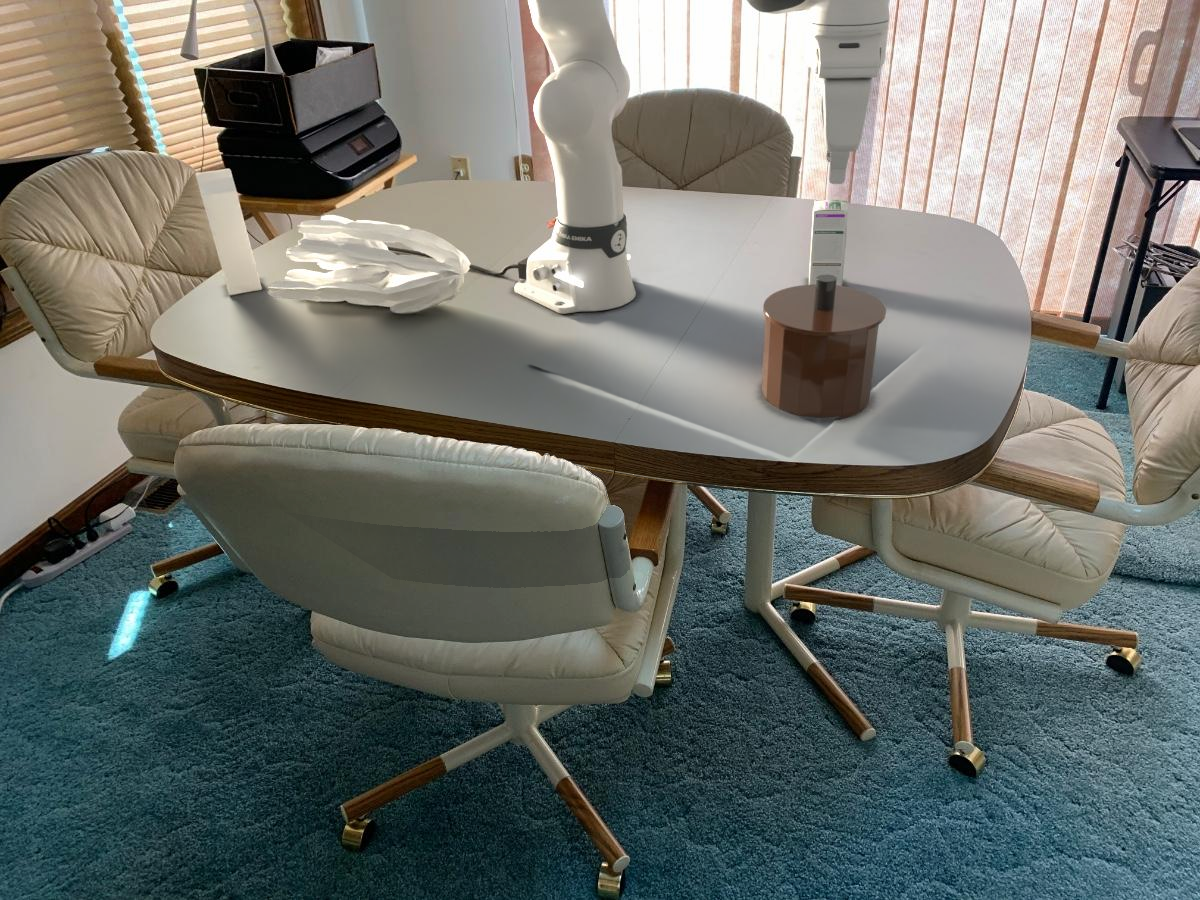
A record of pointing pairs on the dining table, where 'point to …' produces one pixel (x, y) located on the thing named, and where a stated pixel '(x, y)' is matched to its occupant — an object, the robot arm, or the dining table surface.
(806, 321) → the lid
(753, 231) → the dining table surface
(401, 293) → the white jagged lobed bundle
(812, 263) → the syrup box
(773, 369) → the crock
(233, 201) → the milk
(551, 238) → the robot arm
